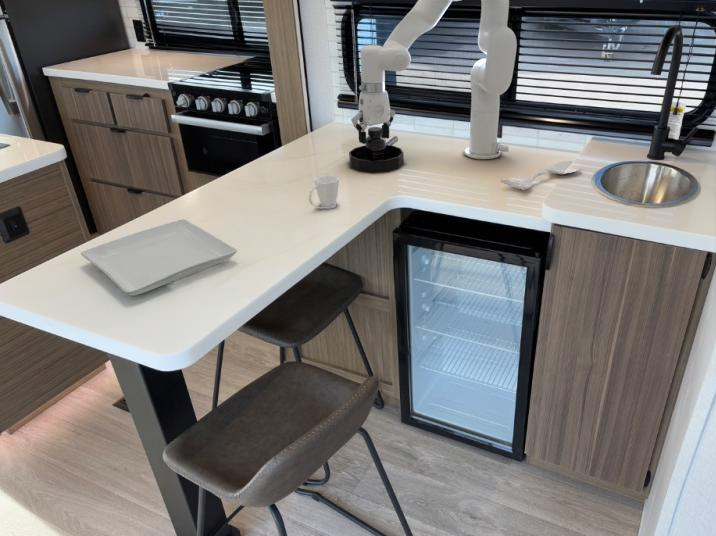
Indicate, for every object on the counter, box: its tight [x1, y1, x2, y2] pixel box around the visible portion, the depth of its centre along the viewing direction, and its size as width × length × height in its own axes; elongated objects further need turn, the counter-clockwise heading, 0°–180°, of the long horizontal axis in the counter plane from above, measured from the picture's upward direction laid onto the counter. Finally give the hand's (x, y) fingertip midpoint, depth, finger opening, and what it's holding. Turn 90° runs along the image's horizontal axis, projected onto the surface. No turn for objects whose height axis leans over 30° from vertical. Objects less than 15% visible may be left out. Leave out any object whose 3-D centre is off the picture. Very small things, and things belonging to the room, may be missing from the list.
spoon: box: [499, 160, 574, 191], centre depth 188 cm, size 9×32×4 cm, turn 130°
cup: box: [308, 174, 340, 210], centre depth 172 cm, size 7×10×8 cm
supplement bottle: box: [365, 126, 387, 161], centre depth 203 cm, size 7×7×12 cm
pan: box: [348, 135, 405, 174], centre depth 209 cm, size 18×28×4 cm, turn 160°
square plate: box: [80, 218, 238, 296], centre depth 144 cm, size 27×27×4 cm
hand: (374, 140), depth 201 cm, fingers open, 9 cm apart
